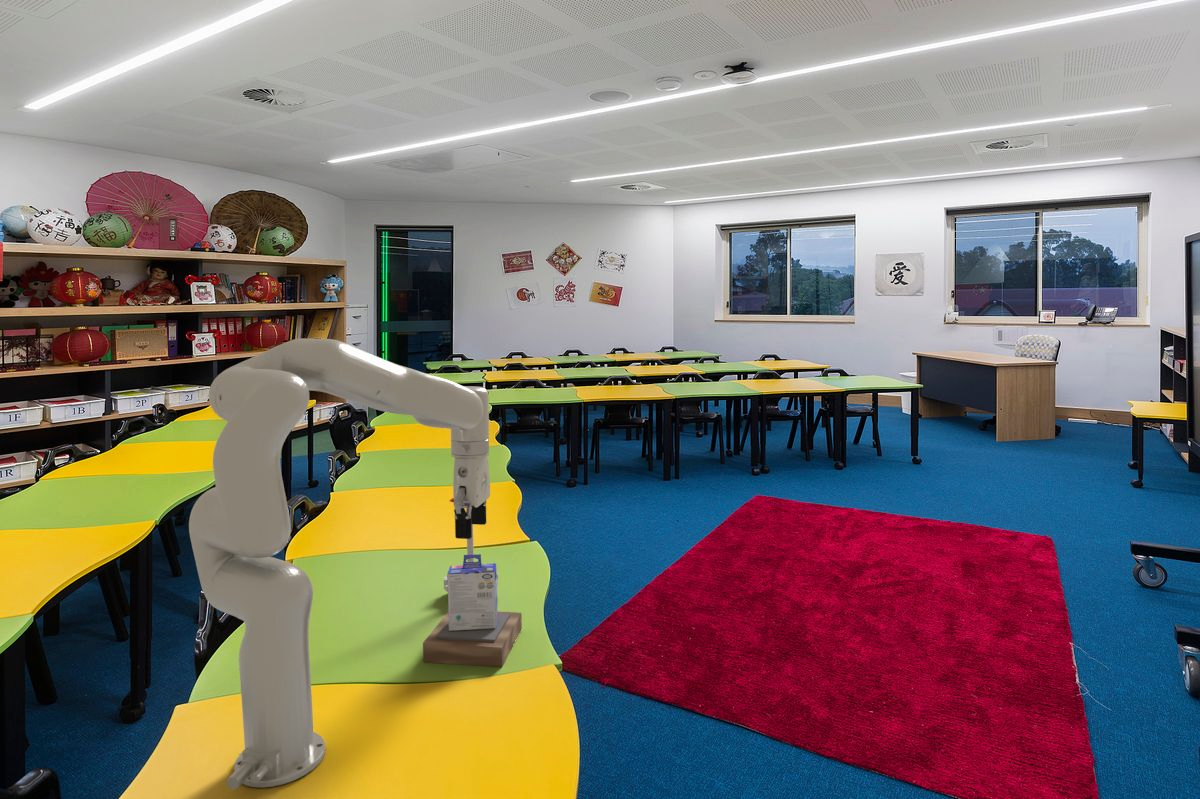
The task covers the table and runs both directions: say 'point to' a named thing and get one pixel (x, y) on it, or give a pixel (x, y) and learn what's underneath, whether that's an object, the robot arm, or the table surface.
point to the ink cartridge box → (472, 595)
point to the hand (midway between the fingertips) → (471, 530)
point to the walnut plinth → (473, 642)
